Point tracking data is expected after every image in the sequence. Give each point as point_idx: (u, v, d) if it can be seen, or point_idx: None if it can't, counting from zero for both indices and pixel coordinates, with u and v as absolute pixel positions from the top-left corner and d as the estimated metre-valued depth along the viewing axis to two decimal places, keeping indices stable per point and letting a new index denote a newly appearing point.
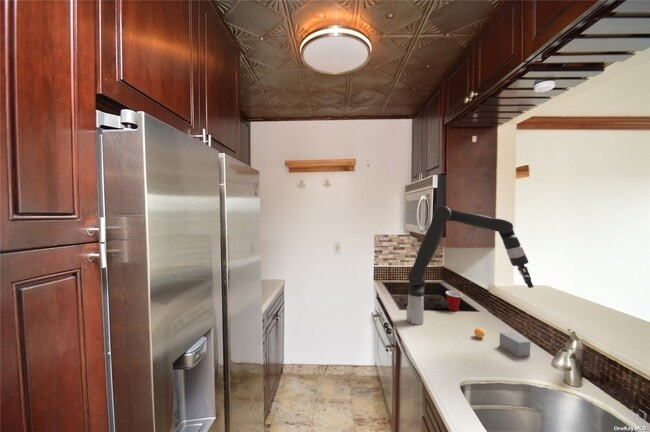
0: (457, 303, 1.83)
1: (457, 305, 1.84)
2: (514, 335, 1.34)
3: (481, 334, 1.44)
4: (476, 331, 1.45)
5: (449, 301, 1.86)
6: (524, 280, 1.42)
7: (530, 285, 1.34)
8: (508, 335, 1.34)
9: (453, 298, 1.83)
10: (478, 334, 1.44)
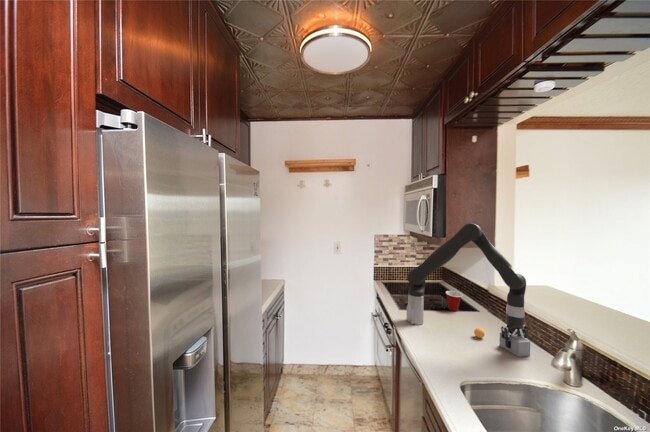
0: (457, 303, 1.83)
1: (457, 305, 1.84)
2: (514, 335, 1.34)
3: (481, 334, 1.44)
4: (476, 331, 1.45)
5: (449, 301, 1.86)
6: None
7: (506, 345, 1.32)
8: None
9: (453, 298, 1.83)
10: (478, 334, 1.44)
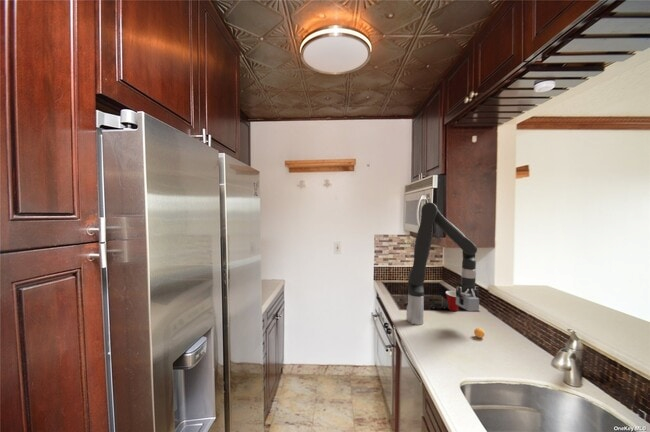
0: None
1: (457, 305, 1.84)
2: (467, 294, 1.57)
3: (481, 334, 1.44)
4: (476, 331, 1.45)
5: (449, 301, 1.86)
6: None
7: (460, 302, 1.55)
8: None
9: (453, 298, 1.83)
10: (478, 334, 1.44)
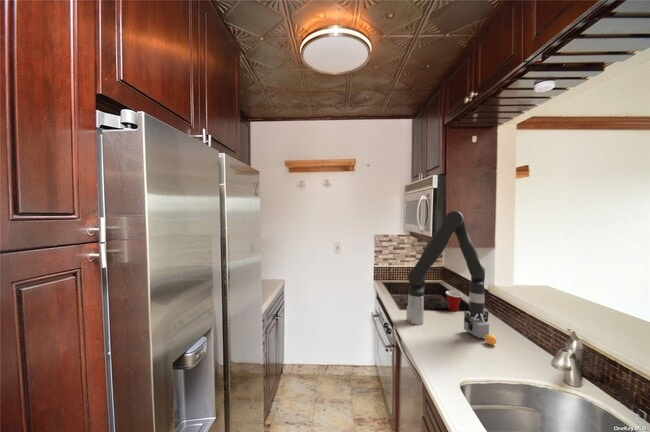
0: (457, 303, 1.83)
1: (457, 305, 1.84)
2: (476, 319, 1.50)
3: None
4: (487, 342, 1.38)
5: (449, 301, 1.86)
6: None
7: (469, 328, 1.48)
8: None
9: (453, 298, 1.83)
10: (485, 339, 1.40)
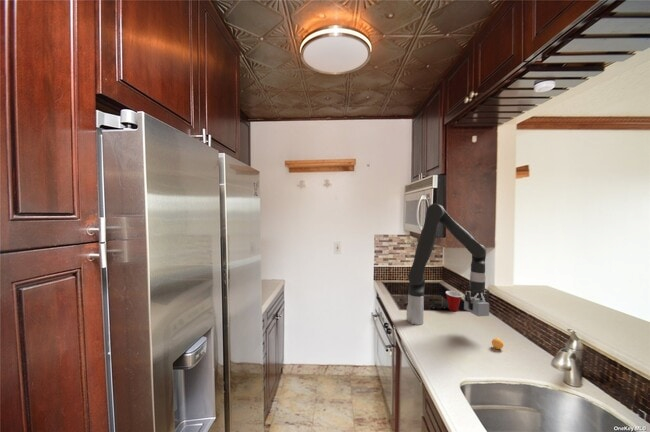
0: (457, 303, 1.83)
1: (457, 305, 1.84)
2: (476, 299, 1.50)
3: (495, 338, 1.35)
4: (492, 342, 1.35)
5: (449, 301, 1.86)
6: None
7: (469, 307, 1.47)
8: (471, 299, 1.49)
9: (453, 298, 1.83)
10: (494, 340, 1.34)
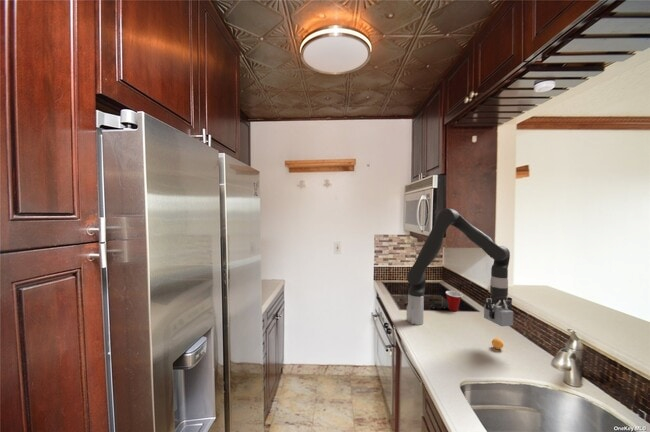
0: (457, 303, 1.83)
1: (457, 305, 1.84)
2: (498, 306, 1.36)
3: (495, 338, 1.35)
4: (492, 342, 1.35)
5: (449, 301, 1.86)
6: None
7: (490, 316, 1.33)
8: (492, 307, 1.35)
9: (453, 298, 1.83)
10: (494, 340, 1.34)
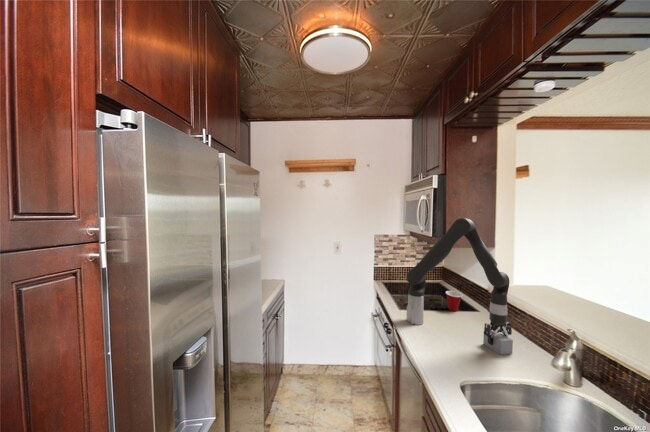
0: (457, 303, 1.83)
1: (457, 305, 1.84)
2: (497, 333, 1.36)
3: None
4: None
5: (449, 301, 1.86)
6: None
7: (488, 341, 1.33)
8: None
9: (453, 298, 1.83)
10: None
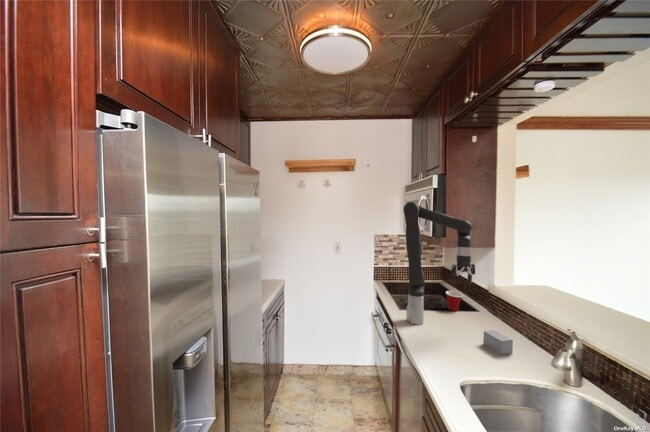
0: (457, 303, 1.83)
1: (457, 305, 1.84)
2: (497, 333, 1.36)
3: None
4: None
5: (449, 301, 1.86)
6: None
7: (455, 280, 1.55)
8: (491, 334, 1.36)
9: (453, 298, 1.83)
10: None
